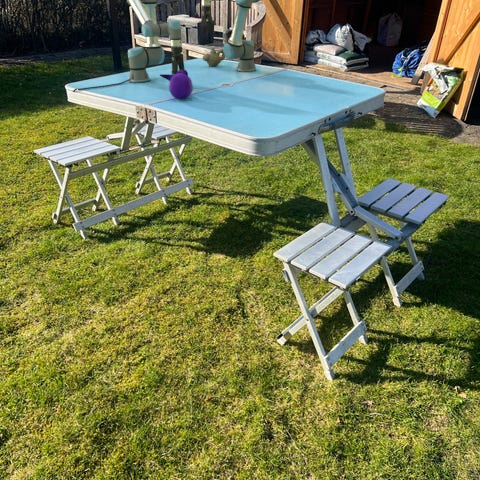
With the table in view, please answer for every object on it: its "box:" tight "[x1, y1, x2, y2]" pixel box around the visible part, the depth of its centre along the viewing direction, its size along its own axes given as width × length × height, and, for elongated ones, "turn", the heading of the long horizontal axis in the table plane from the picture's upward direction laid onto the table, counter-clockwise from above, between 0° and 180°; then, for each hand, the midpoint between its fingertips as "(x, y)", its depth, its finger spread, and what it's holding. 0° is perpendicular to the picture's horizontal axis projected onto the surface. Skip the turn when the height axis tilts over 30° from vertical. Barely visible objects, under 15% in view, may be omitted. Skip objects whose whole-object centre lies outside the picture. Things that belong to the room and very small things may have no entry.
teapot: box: [202, 47, 226, 67], centre depth 386 cm, size 21×12×15 cm, turn 120°
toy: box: [159, 69, 194, 100], centre depth 286 cm, size 16×18×27 cm
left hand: (179, 82), depth 311 cm, fingers closed on block, 6 cm apart
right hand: (207, 34), depth 371 cm, fingers open, 13 cm apart
